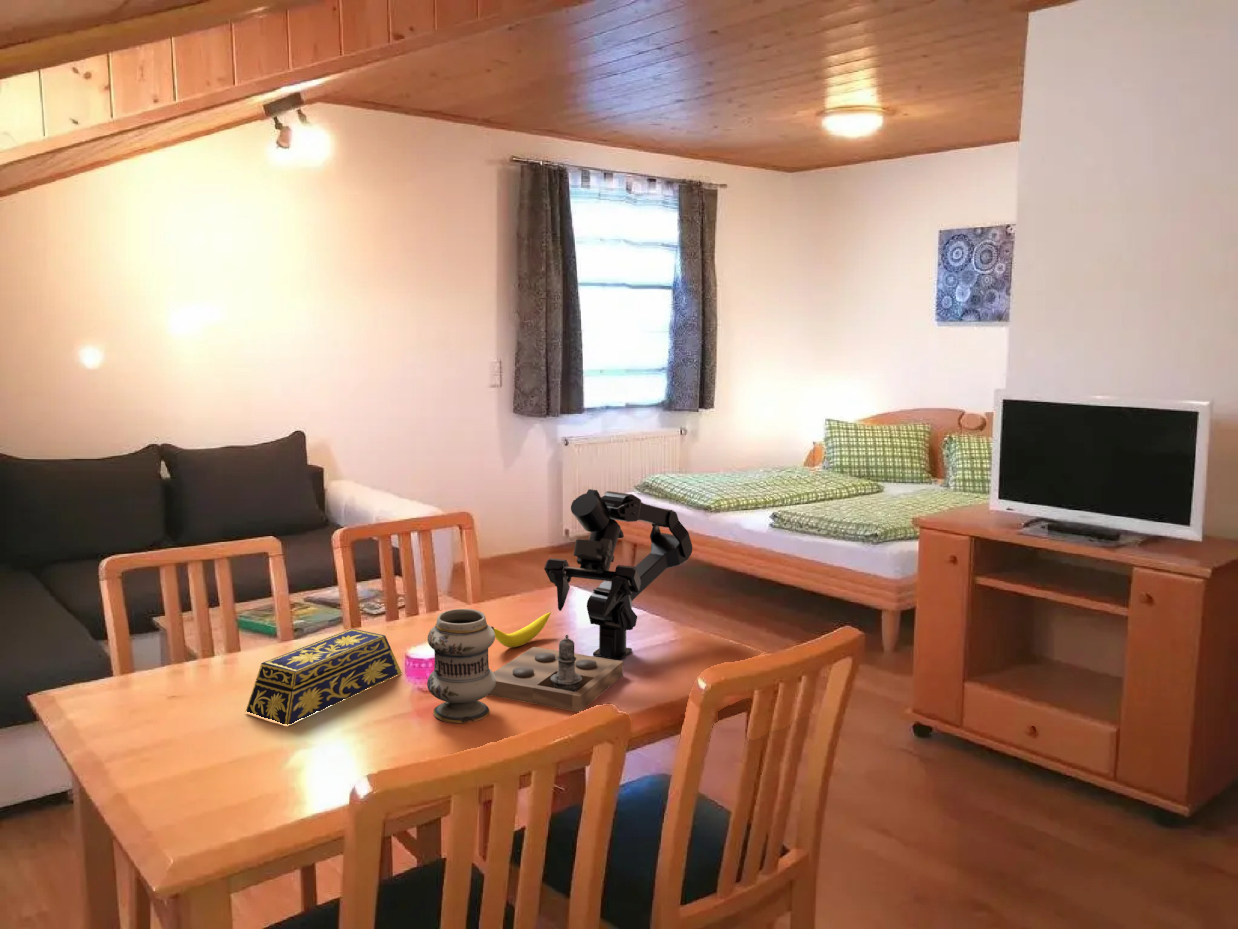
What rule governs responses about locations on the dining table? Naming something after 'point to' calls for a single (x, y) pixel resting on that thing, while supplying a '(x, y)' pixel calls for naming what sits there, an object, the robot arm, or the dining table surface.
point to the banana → (521, 633)
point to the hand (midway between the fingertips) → (581, 612)
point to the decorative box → (321, 675)
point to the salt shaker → (566, 667)
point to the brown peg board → (534, 685)
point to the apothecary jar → (461, 665)
